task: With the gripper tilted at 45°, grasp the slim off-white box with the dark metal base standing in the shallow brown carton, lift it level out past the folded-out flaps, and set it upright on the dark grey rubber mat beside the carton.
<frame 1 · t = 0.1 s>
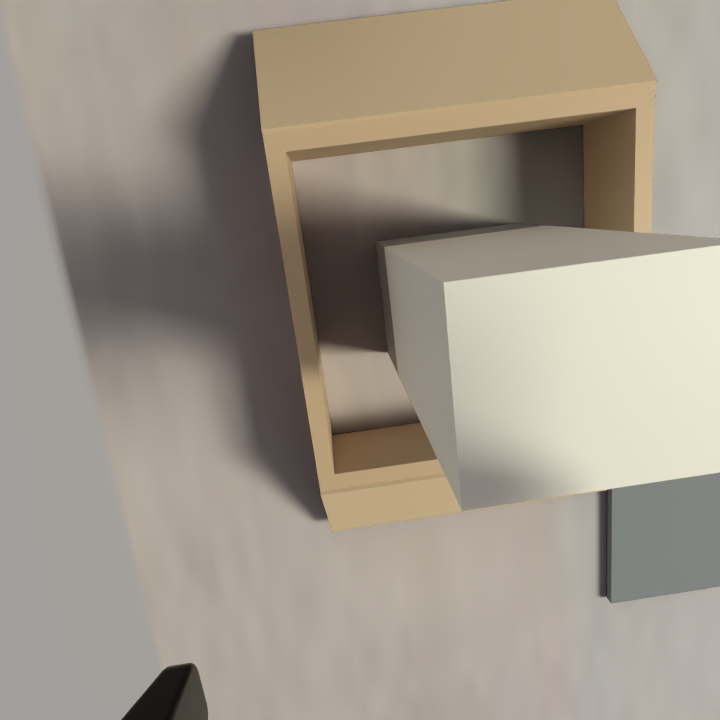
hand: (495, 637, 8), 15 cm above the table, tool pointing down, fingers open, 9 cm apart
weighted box: (497, 319, 16), in the carton
mat: (702, 493, 25), on the table
carton: (450, 289, 21), on the table
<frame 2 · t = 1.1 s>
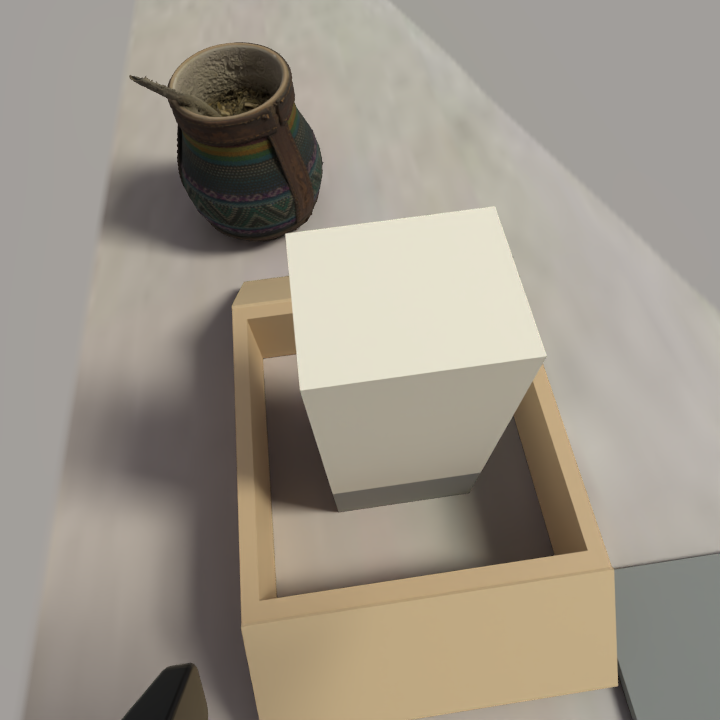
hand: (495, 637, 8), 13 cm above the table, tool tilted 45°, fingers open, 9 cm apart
mate gourd: (263, 214, 31), on the table
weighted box: (398, 394, 18), in the carton
carton: (395, 451, 23), on the table
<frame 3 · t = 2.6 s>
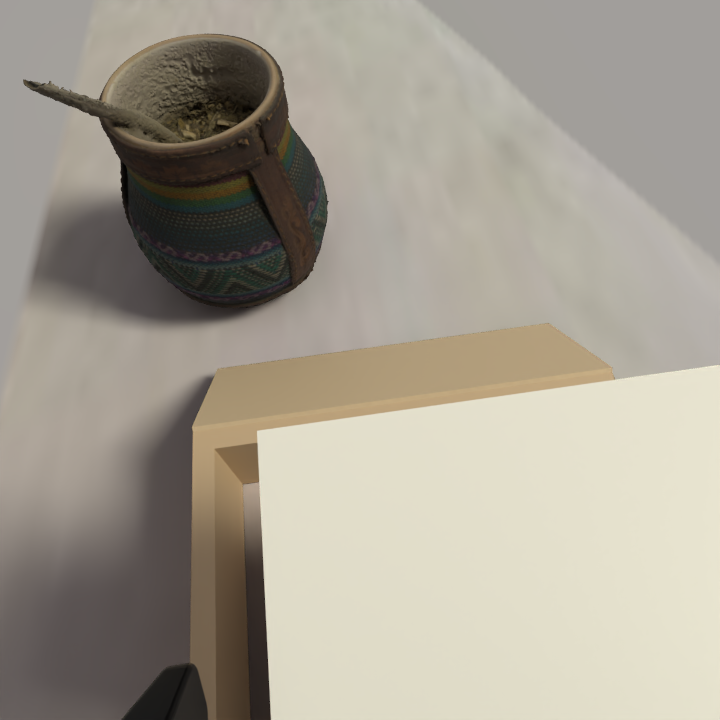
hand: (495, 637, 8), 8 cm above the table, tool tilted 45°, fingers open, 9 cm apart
mate gourd: (248, 266, 23), on the table
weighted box: (467, 634, 10), in the carton
carton: (438, 642, 16), on the table
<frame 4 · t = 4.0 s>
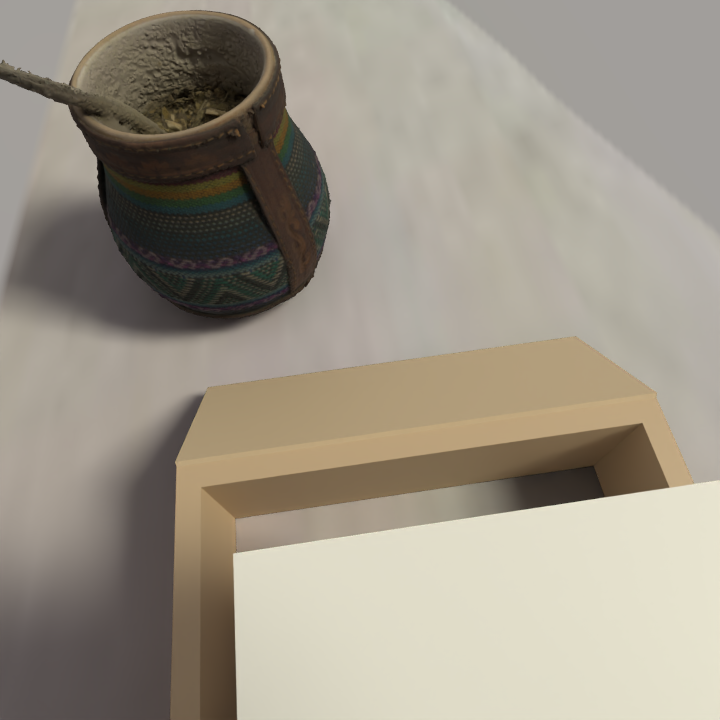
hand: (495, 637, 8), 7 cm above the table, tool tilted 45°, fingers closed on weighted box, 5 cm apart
mate gourd: (243, 271, 21), on the table
carton: (457, 705, 14), on the table
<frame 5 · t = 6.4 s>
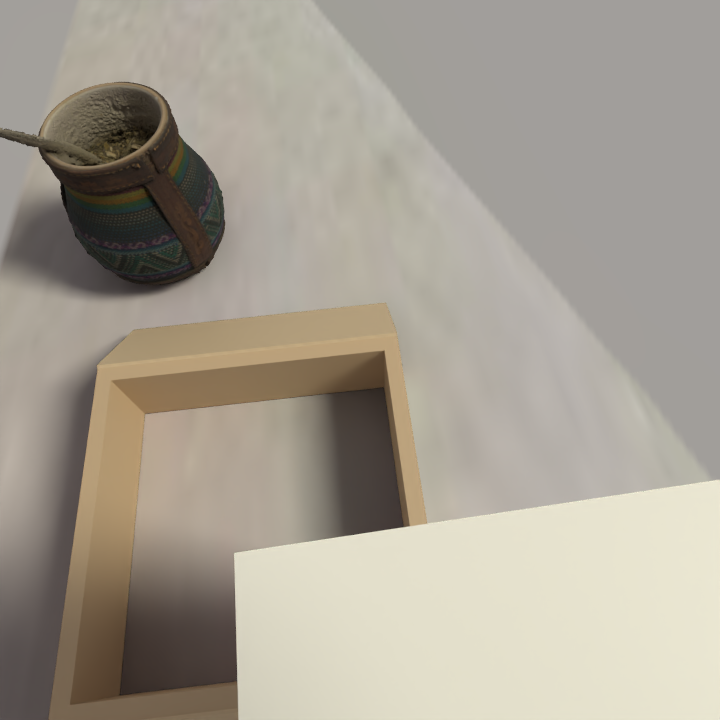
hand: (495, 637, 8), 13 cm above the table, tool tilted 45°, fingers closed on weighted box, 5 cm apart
mate gourd: (170, 253, 29), on the table
carton: (267, 522, 22), on the table
when the fingers open (9 cm above the table, at t = 8.9 s): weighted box stays where it is, resting on mat.
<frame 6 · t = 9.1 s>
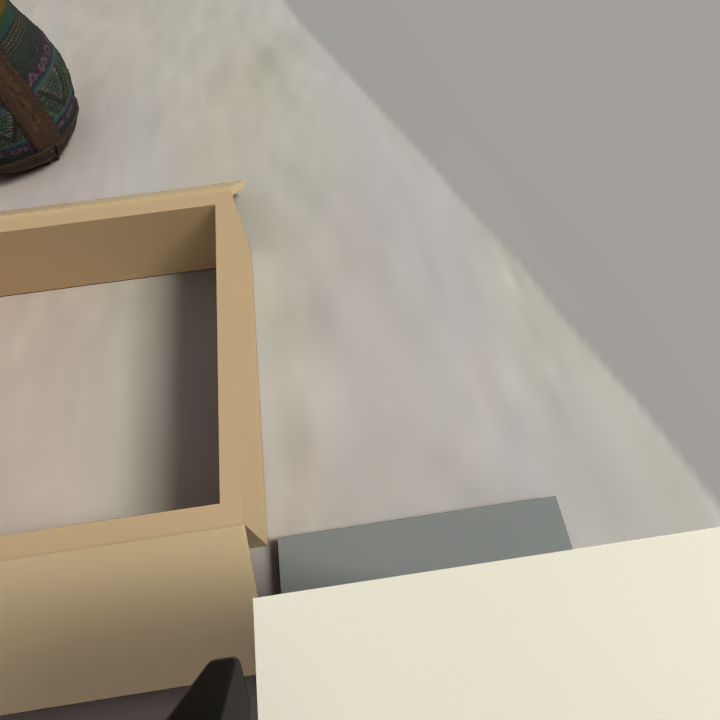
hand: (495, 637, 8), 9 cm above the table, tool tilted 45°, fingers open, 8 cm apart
mate gourd: (26, 148, 27), on the table
mat: (450, 699, 15), on the table
carton: (94, 400, 20), on the table
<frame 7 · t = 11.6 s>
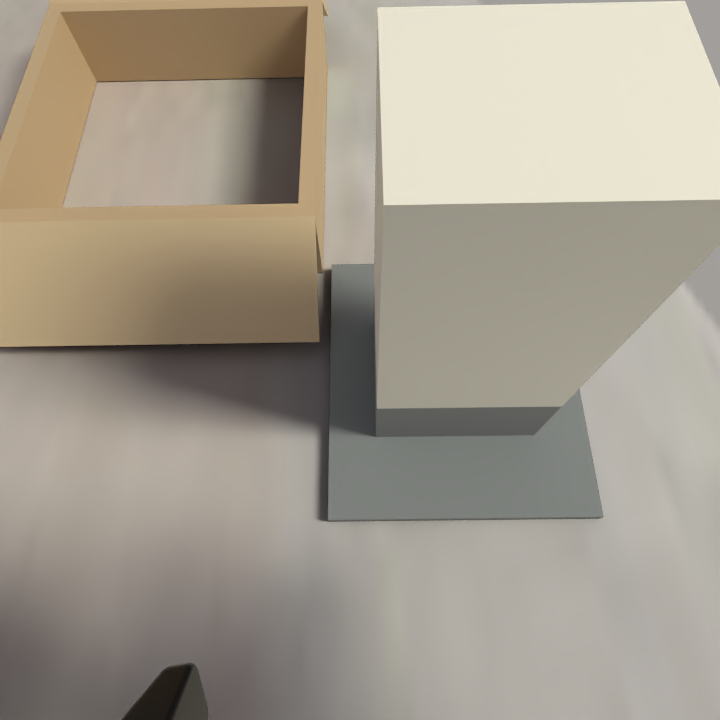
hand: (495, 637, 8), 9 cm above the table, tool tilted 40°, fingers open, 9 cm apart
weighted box: (480, 289, 14), on the mat
mat: (451, 381, 20), on the table
carton: (192, 162, 25), on the table
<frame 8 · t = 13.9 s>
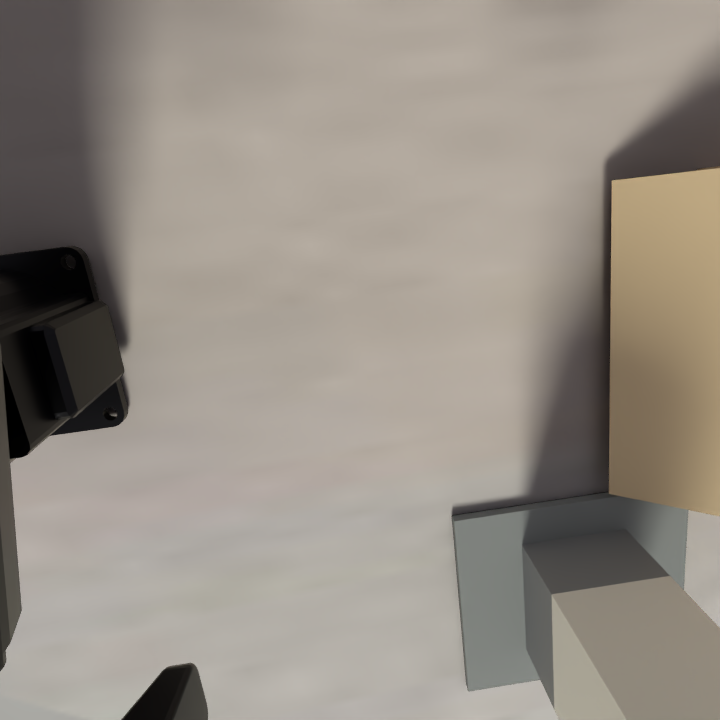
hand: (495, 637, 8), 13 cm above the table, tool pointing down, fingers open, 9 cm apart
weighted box: (657, 715, 18), on the mat
mat: (569, 587, 24), on the table
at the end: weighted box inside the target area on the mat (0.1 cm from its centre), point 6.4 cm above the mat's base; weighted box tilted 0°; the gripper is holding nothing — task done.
